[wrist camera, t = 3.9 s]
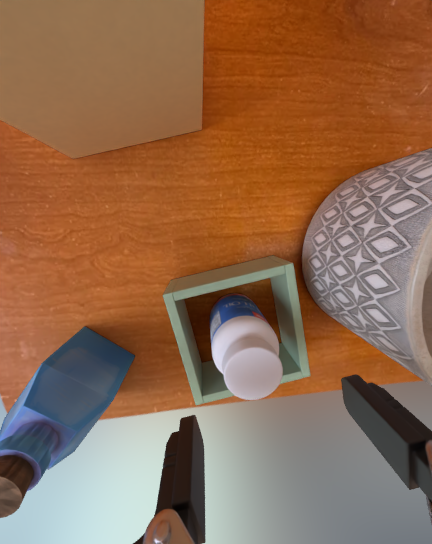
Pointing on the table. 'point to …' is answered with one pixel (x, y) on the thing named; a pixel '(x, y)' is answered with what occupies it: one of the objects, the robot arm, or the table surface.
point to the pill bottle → (244, 347)
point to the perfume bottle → (57, 411)
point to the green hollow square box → (281, 273)
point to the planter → (378, 259)
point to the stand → (101, 71)
